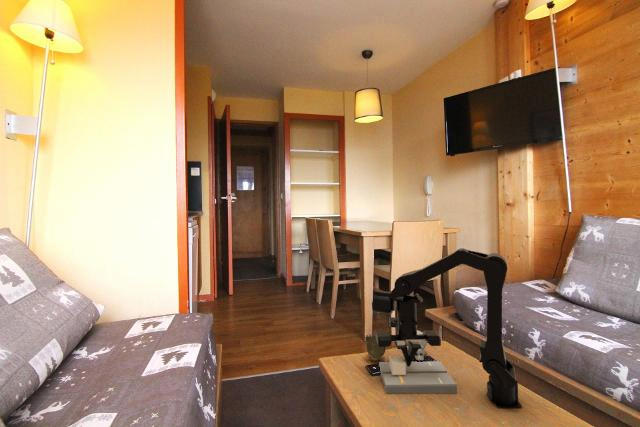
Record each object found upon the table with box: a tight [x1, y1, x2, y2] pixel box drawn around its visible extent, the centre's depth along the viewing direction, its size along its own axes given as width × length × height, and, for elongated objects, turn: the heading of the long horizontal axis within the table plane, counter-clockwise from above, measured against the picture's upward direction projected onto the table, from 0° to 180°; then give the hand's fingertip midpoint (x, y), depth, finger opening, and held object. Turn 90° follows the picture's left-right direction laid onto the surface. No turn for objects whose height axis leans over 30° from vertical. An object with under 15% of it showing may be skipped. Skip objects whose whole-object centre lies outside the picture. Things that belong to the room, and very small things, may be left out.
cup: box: [364, 333, 387, 363], centre depth 115 cm, size 8×7×8 cm
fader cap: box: [388, 355, 406, 375], centre depth 101 cm, size 4×5×4 cm
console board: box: [378, 360, 458, 395], centre depth 101 cm, size 20×14×3 cm
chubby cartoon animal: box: [406, 329, 428, 361], centre depth 116 cm, size 7×12×8 cm, turn 168°
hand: (408, 365), depth 101 cm, fingers closed
